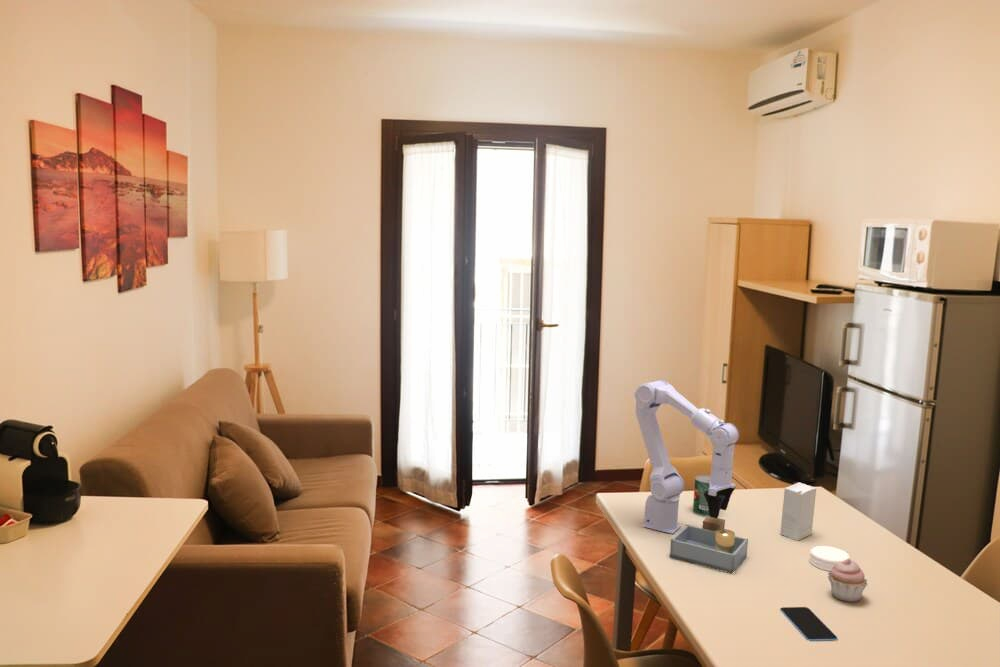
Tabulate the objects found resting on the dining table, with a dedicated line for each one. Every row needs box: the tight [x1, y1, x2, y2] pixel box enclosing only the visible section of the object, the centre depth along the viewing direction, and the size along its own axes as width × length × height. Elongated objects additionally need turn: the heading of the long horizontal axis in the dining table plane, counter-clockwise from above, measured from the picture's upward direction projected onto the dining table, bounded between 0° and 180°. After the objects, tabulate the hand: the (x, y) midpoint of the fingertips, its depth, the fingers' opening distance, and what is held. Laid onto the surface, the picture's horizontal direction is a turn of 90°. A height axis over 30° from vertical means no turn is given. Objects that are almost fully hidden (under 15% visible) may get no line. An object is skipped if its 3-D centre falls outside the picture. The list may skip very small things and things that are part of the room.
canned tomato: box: [692, 474, 711, 517], centre depth 252 cm, size 8×8×11 cm
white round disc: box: [808, 545, 851, 572], centre depth 217 cm, size 10×10×4 cm
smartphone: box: [779, 606, 839, 642], centre depth 184 cm, size 7×1×15 cm
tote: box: [669, 524, 749, 574], centre depth 219 cm, size 17×13×5 cm
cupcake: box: [827, 558, 869, 603], centre depth 197 cm, size 9×9×10 cm
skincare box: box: [780, 481, 817, 542], centre depth 235 cm, size 8×6×15 cm
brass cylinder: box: [714, 528, 736, 554], centre depth 216 cm, size 5×5×7 cm
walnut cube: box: [701, 516, 726, 532], centre depth 233 cm, size 5×5×5 cm
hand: (718, 513), depth 226 cm, fingers open, 7 cm apart
